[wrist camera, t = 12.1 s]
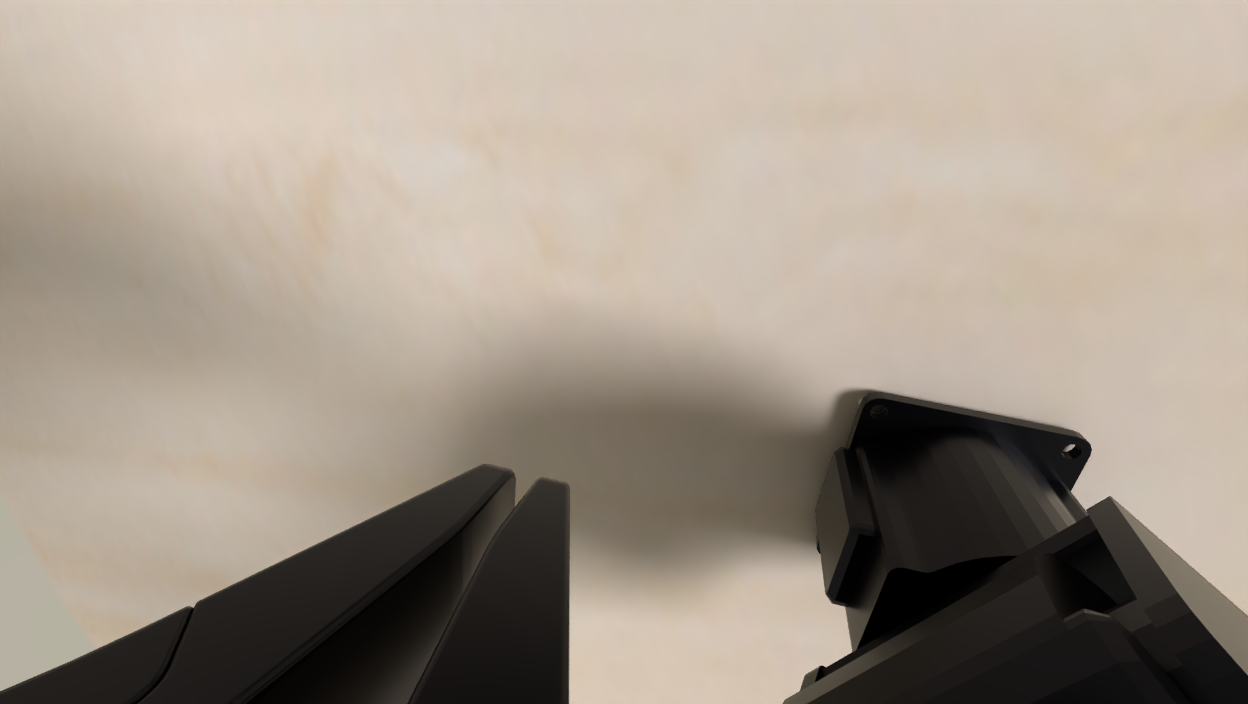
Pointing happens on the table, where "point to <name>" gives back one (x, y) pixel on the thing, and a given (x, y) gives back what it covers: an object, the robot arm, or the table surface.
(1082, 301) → the table surface
